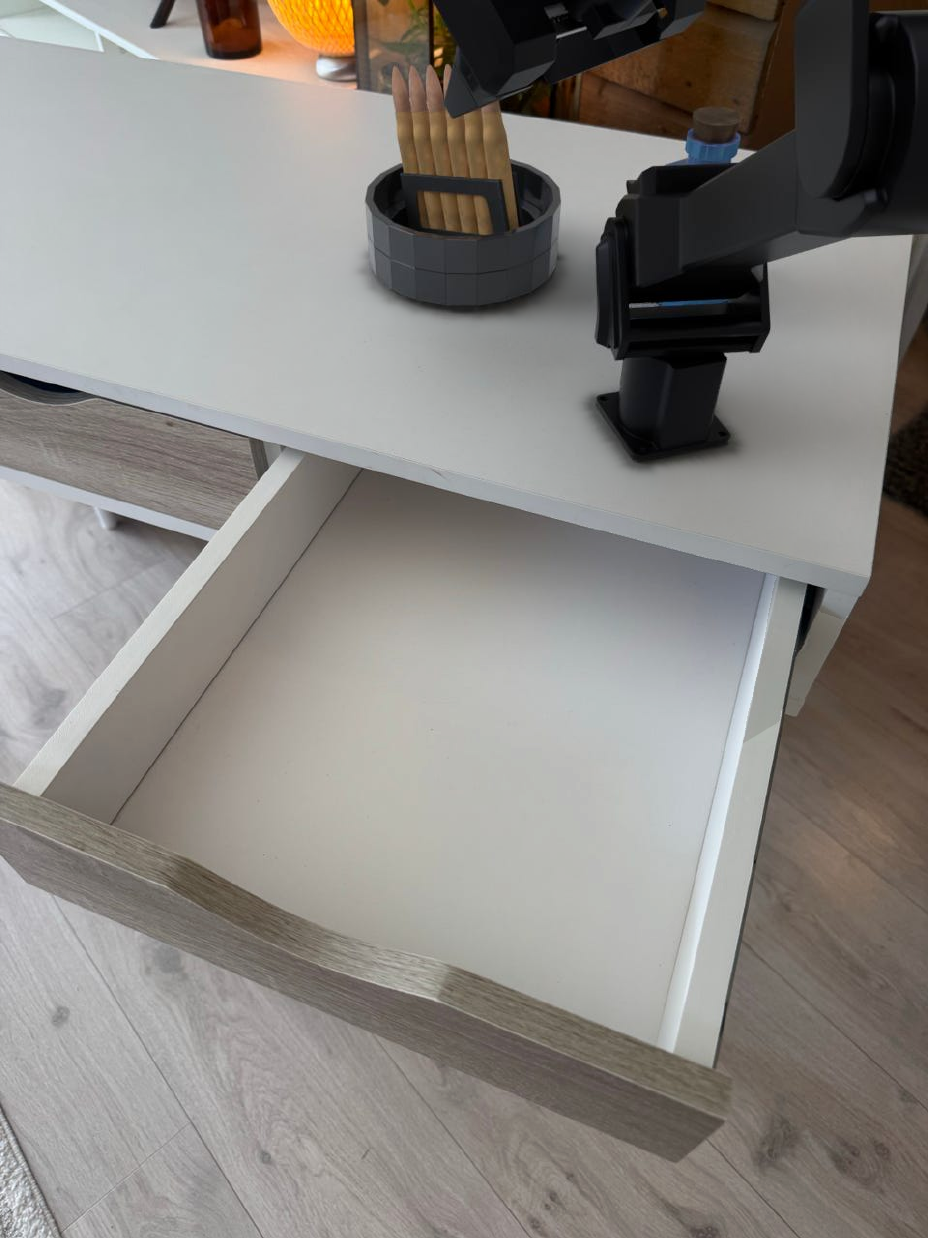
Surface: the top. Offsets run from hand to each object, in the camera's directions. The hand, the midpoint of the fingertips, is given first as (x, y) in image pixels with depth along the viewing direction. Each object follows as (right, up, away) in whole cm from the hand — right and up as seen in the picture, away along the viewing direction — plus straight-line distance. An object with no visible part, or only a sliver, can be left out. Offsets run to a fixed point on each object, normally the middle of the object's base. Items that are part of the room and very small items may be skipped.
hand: (499, 93), depth 59 cm
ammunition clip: (-2, -5, +12) cm, 13 cm away
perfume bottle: (+14, -8, +11) cm, 20 cm away
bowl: (-2, -6, +13) cm, 15 cm away
